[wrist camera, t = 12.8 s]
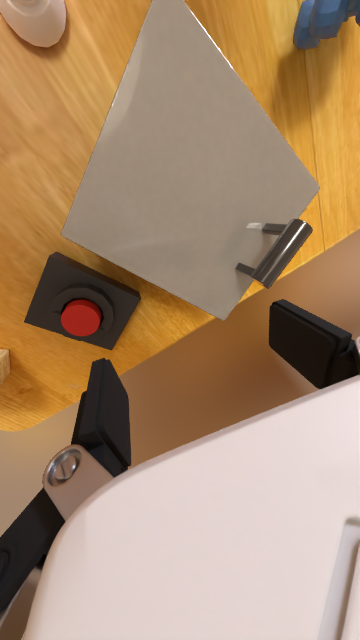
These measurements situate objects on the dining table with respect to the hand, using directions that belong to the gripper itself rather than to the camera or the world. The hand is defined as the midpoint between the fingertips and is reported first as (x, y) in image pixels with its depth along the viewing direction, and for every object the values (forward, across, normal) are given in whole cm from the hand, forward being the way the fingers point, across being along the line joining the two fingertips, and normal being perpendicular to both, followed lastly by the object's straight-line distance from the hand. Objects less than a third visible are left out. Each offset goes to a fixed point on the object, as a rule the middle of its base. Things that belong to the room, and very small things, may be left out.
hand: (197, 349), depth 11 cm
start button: (+15, +10, +2) cm, 18 cm away
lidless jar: (+20, +3, -23) cm, 30 cm away
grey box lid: (+9, -5, -6) cm, 12 cm away
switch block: (+19, +10, +2) cm, 22 cm away
